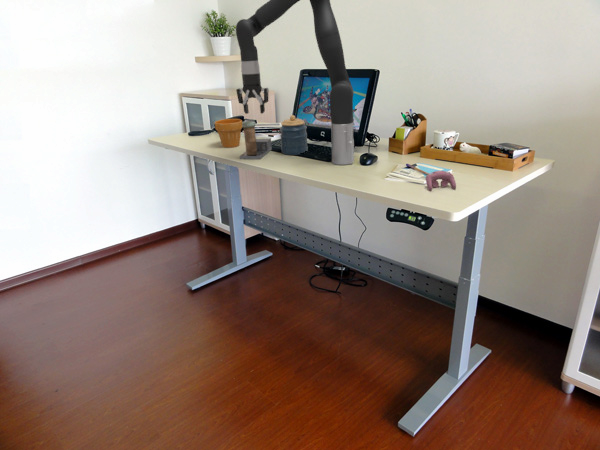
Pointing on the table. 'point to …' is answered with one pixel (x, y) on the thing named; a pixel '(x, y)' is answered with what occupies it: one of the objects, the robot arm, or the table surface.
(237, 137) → the flower pot
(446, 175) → the video game controller
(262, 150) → the mount
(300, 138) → the canister
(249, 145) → the brown capped cylinder
